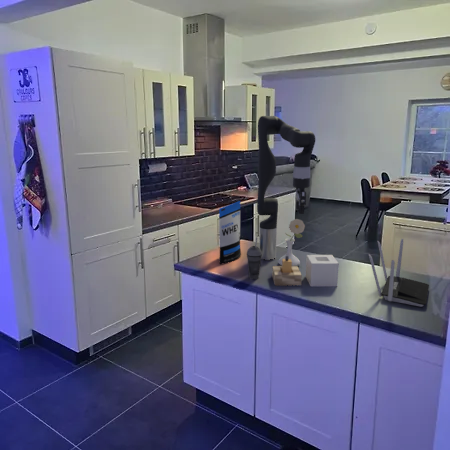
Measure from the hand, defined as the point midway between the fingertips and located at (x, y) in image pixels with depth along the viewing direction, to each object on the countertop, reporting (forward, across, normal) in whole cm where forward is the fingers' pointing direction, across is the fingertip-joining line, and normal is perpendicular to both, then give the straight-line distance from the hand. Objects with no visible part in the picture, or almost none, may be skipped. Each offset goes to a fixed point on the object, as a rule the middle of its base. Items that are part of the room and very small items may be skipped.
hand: (300, 211), depth 182 cm
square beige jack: (+32, +6, -6) cm, 33 cm away
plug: (+30, +6, -6) cm, 31 cm away
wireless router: (+32, +19, +40) cm, 55 cm away
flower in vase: (+32, -15, -1) cm, 36 cm away
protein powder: (+33, -27, -33) cm, 53 cm away
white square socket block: (+32, +6, +10) cm, 34 cm away
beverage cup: (+32, +2, -21) cm, 38 cm away
